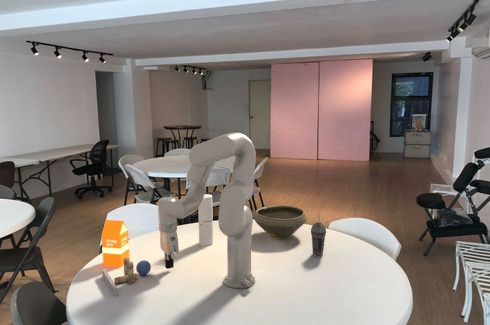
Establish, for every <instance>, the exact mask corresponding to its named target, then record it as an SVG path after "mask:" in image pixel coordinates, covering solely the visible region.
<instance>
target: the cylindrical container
mask: <svg viewBox="0 0 490 325" xmlns="http://www.w3.org/2000/svg"><path fill="white" fill-rule="evenodd" d="M197 210H198V211H197V212H198V214H197V215H198V238H199V239H198V244H199V245H200V246H203V247H208V246H209V247H210V246H212V245H213V244H214V228H213V227H214V222H213V219H214V218H213V217H214V216H213V195H212V194H206V193H205V195H204V197H203V199H202V201H201V204H200V206H199V207H198V209H197Z"/></svg>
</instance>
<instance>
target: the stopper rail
mask: <svg viewBox="0 0 490 325" xmlns="http://www.w3.org/2000/svg"><path fill="white" fill-rule="evenodd" d="M101 273H102V278H103V280H104V281H105V283H106V284H107V286H108V288H109V289H110V291H111V293H112V294H113V296H114V297H118V296H119V292H118V290H119V289H118V287H117V284H115V282H114V279H112V277H111V276H110V274H109V273H108V271H107V270H106V268H104V269H102V272H101Z"/></svg>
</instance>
